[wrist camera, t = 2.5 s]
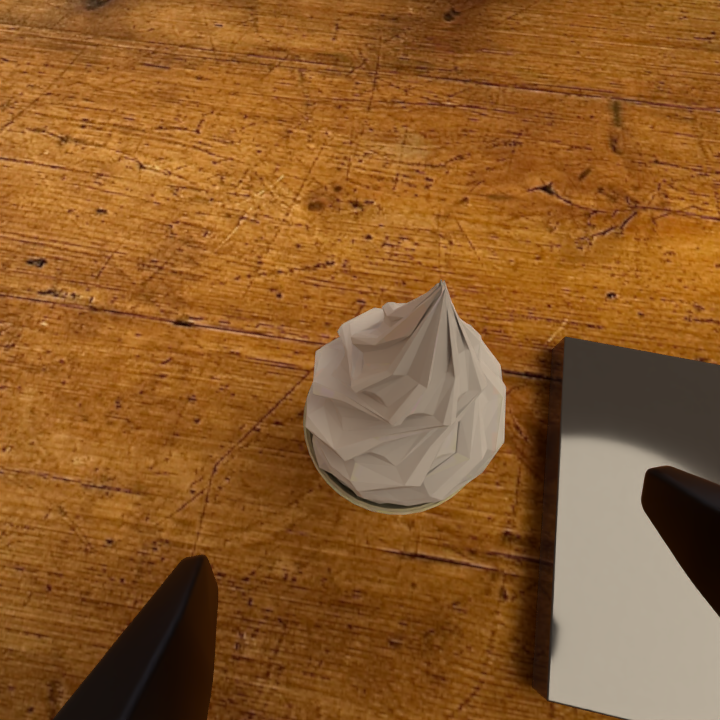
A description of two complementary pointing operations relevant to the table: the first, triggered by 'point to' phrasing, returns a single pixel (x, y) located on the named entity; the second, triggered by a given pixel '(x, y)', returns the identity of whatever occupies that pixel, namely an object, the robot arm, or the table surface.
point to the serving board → (623, 537)
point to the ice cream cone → (404, 406)
